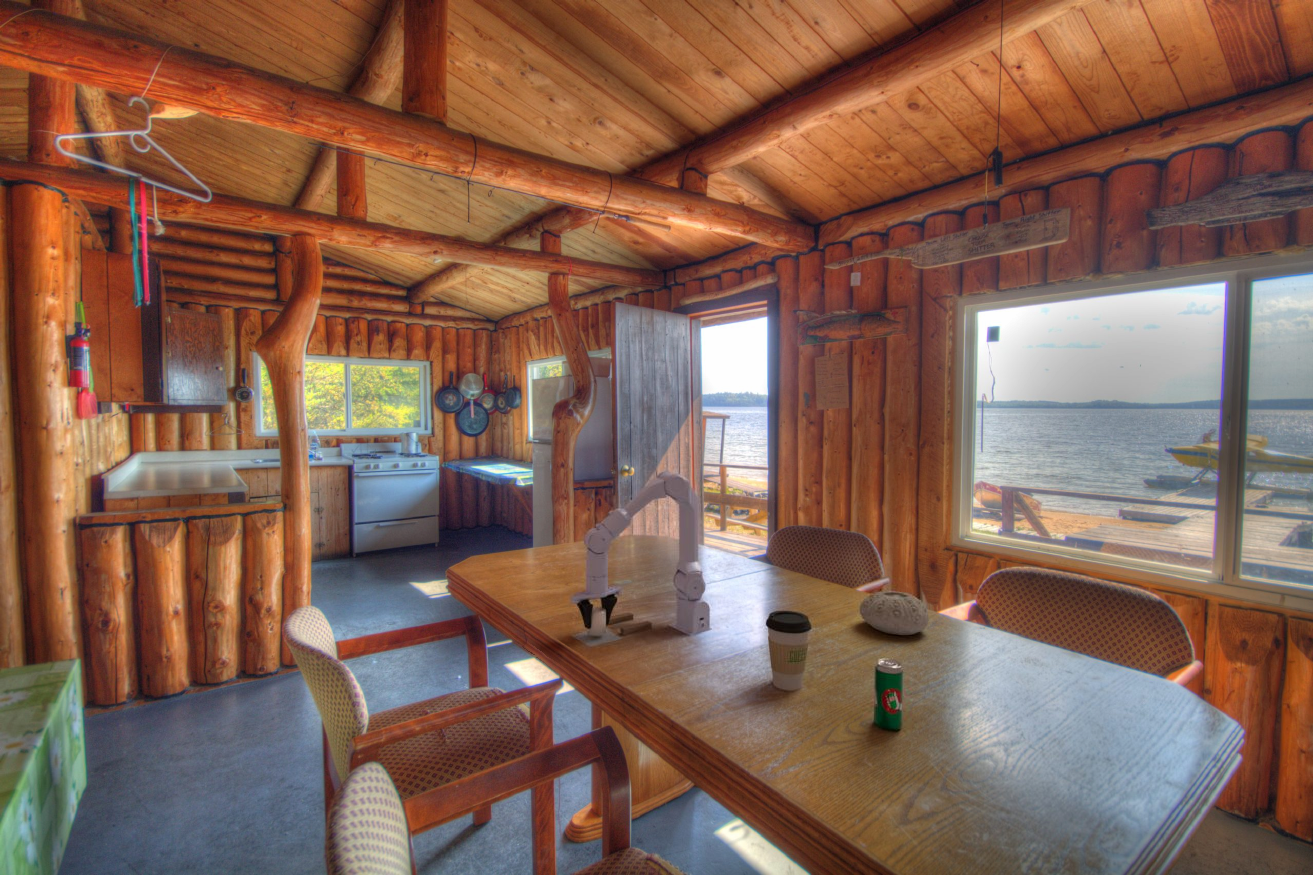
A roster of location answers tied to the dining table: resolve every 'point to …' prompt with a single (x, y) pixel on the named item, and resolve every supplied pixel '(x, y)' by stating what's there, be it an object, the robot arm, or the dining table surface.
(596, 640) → the grey mat
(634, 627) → the walnut cradle
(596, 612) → the cream jug
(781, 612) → the coffee cup
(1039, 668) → the dining table surface
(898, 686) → the soda can
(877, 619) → the decorative shell
